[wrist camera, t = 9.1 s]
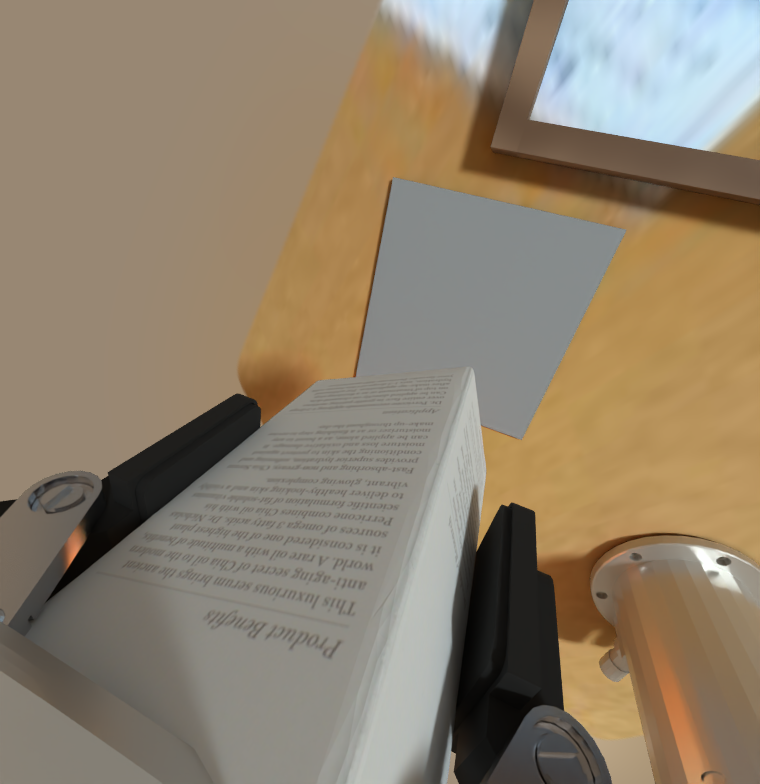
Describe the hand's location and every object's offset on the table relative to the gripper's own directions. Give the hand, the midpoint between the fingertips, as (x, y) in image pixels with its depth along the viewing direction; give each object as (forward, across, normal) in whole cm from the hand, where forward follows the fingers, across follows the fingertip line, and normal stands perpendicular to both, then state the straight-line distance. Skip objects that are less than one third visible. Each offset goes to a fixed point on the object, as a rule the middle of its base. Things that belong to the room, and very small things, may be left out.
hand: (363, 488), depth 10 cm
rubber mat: (+20, 0, 0) cm, 20 cm away
